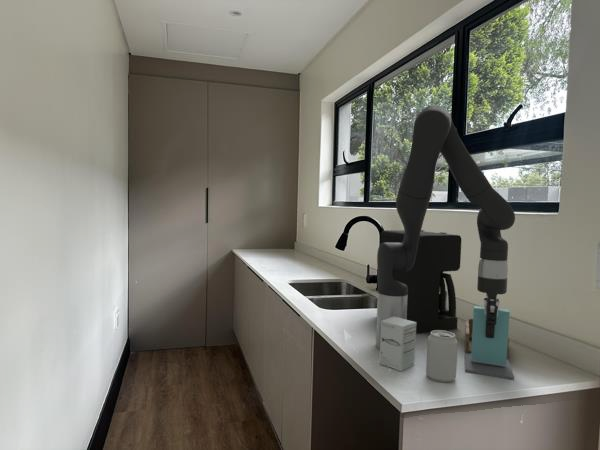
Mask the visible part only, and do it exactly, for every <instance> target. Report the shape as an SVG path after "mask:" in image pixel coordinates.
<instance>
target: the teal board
mask: <svg viewBox="0 0 600 450" xmlns="http://www.w3.org/2000/svg"><path fill="white" fill-rule="evenodd" d="M486 312H487V310H486ZM510 314H511V313H510V310H509V309H507V308H506V309H505V308H499V307H498V316H497V319H496V322H497V324H496V325H495V331H494V338H486V336H485V333H486V323H485V321H486V316H485V315H484V306H480V305H479V306H478V305H473V314H472V319H473V331H472V348H471V360H474V361H480V362H487V363H493V364H500V365H506V361H507V345H508V338H509V327H510V325H509V324H510ZM489 320H494V318H491V317H489Z"/></svg>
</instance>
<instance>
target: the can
mask: <svg viewBox="0 0 600 450" xmlns="http://www.w3.org/2000/svg"><path fill="white" fill-rule="evenodd" d="M429 333H430V334H429V335H428V336H427V344H426V346H427V347H426V366H425V367H426V368H425V374H426V375H427V376H428V377H429V379H431V380H433V381H435V382H439V383H450V382H452V381H453V380H455V379H457V366H458V365H457V364H458V363H457V362H458V346H459V345H458V343H459V341H458V340H457V338H456V334H455V333H454V332H451V331H448V330H433V331H431V332H429Z"/></svg>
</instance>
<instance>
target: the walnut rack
mask: <svg viewBox="0 0 600 450" xmlns="http://www.w3.org/2000/svg"><path fill="white" fill-rule="evenodd" d="M464 323H465V325H464V327H465V328H464V354H465V353H468V354H471V348H472V331H473V317H472V318H471V317H470V318H468V320H465V322H464ZM509 346H510V338H509V337H508V345H507V359H509V348H510V347H509Z"/></svg>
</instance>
